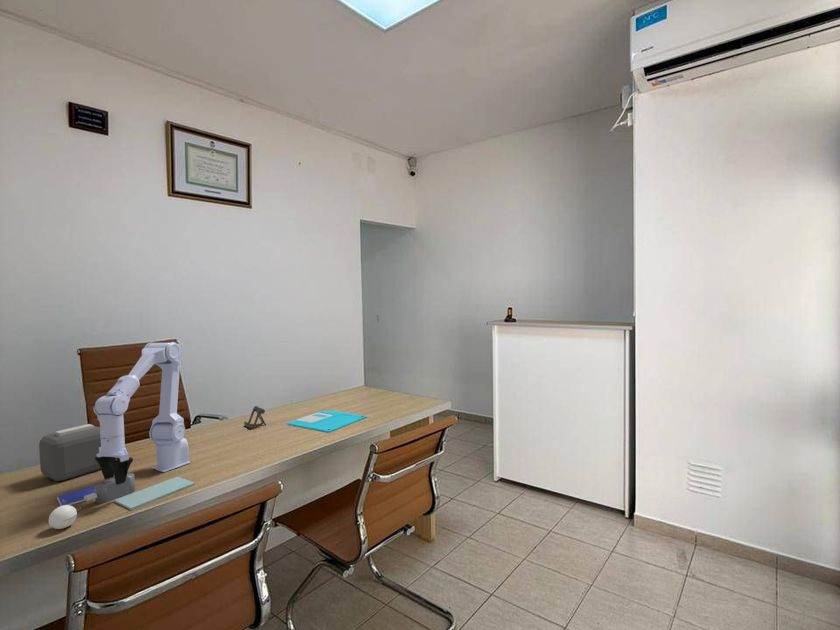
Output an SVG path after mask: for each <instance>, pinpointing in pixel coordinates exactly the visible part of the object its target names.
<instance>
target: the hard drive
mask: <svg viewBox="0 0 840 630" xmlns="http://www.w3.org/2000/svg"><path fill="white" fill-rule="evenodd" d="M91 493H95V485H93V486H89V487H86V488H82V489H78V490H74V491H71V492H66V493H63V494H61V495H57V499H56V500H57V501H58V504H59V505H60V506H63V505H70V506H73V505H75V504H79V503H82V502H85V501H86V500H84V496H86V495H88V494H91ZM86 502H87V501H86Z"/></svg>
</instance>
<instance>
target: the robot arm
mask: <svg viewBox="0 0 840 630" xmlns="http://www.w3.org/2000/svg"><path fill="white" fill-rule="evenodd" d="M181 361H182V348H181V347H180V345H179V344H178V343H177V342H175V341H171V342H148V343H147V344H145V346H144V347H143V348H142V349H141V356H140V357H139V359H138V360H137V362H136V363H135V365H134V366H133V367H132V369H131V370H130V372H129V373H128V374H126V375H122V376H120V377H119V378H118V379H117V382H116V383H115V384H114V385H113V386H112V387H111V389H110V390H108V392H107V393H106V395H103V396H101V397H99V398H98V399H97V400H96V401H95V404H94V407H92V409H93V412H94V414H95V415H96V416H97V421H98V423H99V427H100V438H101V447H99V453H98V454H96V455H97V457H95V460H96V461H97V463H98V464H99V466H100V468H101V469H100V470H101V473H102V476H103V478H104V481H106V480H109V479H112V478H115V482H116V484H117V485H118V484H121V483H124V482H125V481H126V477H127V474H128V472H129V470H130V467H131V465H132V463H133V461H134V458H133V457H131V456H129V452H128V451H127V448H126V445H125V444H126V441H125V440H126V439H125V423H124V421H125V418H124V414H125V412H126V411H127V410H128V408H129V403H130V401H131V398H132V396H133V395H134V394H135V393H136V391H137V390H138V388H140V386H141V385H140V380H141V379H142V378H143V377H144V376H145V375H146V373H148V372H149V370H150V369H152V367H153V366H155V365H157V366H158V367H159V368H160V369H161V380H160V381H161V382H160V383H161V384H160V396H159V397H160V398H159V407H158V408H159V411H158V415H157V416H155V418H153V419H152V420H151V421H152V423H151V426H150V429H149V434H148V435H149V438H150V439H151V441H153V444H155V451H156V454H155V455H156V465H154V466H153V465H152V466H151V469H153V470H156V471H158V472H161V473H166V472H169V471H171V470H174V469H178V468H180V467H183V466H187V465H188V464H191V461H190V449H189V443H188V440H187V439H186V438H185V437H184V436H185V433H186V427H185V422H184V421H185V420H184V419H185V418H184V417H183V416H181V415H180V414H178V401H179V400H178V399H179V385H180V369H181Z"/></svg>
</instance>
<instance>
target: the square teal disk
mask: <svg viewBox="0 0 840 630" xmlns="http://www.w3.org/2000/svg"><path fill="white" fill-rule="evenodd" d="M367 418H368V416H367V415H364V414H363V415H362V414H356V413H351V412H350V413H349V412H343V411H336V410H330V409H329V410H320V411H319V412H315V413H312V414H309V415H306V416H303V417H300V418H297V419H295V420H290V421H288V422H286V424H288V426H291V425H292V427H296V426H297V427H298V428H302V429H308V430H313V431H317V432H324V433H332V432H335V431H338V430H340V429H342V428H344V427H348V426H350V425H352V424H355V423H357V422H359V421H361V420H365V419H367Z"/></svg>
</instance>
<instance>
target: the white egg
mask: <svg viewBox="0 0 840 630" xmlns="http://www.w3.org/2000/svg"><path fill="white" fill-rule="evenodd" d="M78 510H80V508H79V509H77V508H75V506H73V505H63V506H61V505H60V506H58V507H56V508H55V509H54V510H52V511H51V513H50V514H49V517H48V525H49V526H50V527H51V528H52V529H54V530H62V529H65V528H67V527H69V526H71V525H72V524H73V523H75V521H76V519H77V515H78V512H77V511H78Z"/></svg>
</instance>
